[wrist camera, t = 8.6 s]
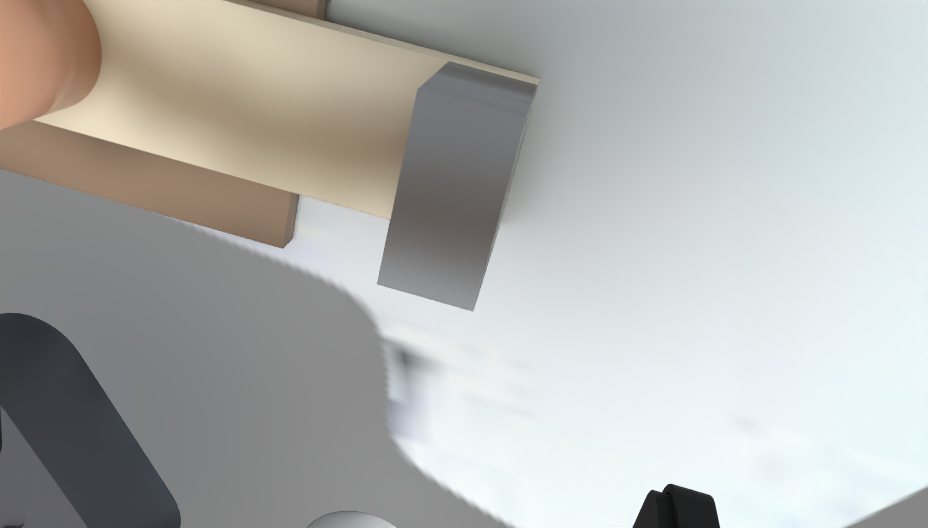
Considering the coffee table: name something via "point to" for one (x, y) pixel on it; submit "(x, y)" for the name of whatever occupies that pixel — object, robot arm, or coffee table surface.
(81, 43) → the puck
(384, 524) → the mug
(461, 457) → the coffee table surface
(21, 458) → the streaming box
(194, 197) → the lane board
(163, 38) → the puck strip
